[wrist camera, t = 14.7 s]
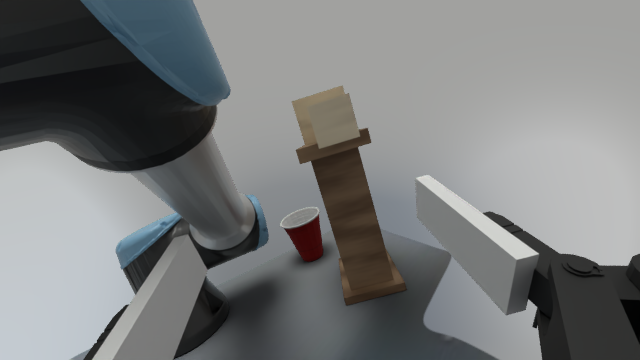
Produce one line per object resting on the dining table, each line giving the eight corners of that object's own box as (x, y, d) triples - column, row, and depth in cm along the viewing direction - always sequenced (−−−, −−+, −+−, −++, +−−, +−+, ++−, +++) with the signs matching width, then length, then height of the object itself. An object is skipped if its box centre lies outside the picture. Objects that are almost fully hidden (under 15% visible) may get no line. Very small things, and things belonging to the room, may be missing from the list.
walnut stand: (340, 264, 57) (303, 145, 52) (385, 251, 56) (352, 130, 51) (349, 330, 37) (292, 151, 32) (419, 312, 37) (371, 126, 32)
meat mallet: (308, 144, 45) (296, 106, 43) (349, 131, 44) (339, 93, 43) (285, 159, 17) (252, 57, 16) (395, 125, 17) (369, 18, 15)
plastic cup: (285, 268, 62) (270, 226, 60) (305, 246, 72) (292, 209, 70) (322, 268, 57) (307, 222, 55) (337, 244, 67) (325, 204, 65)
